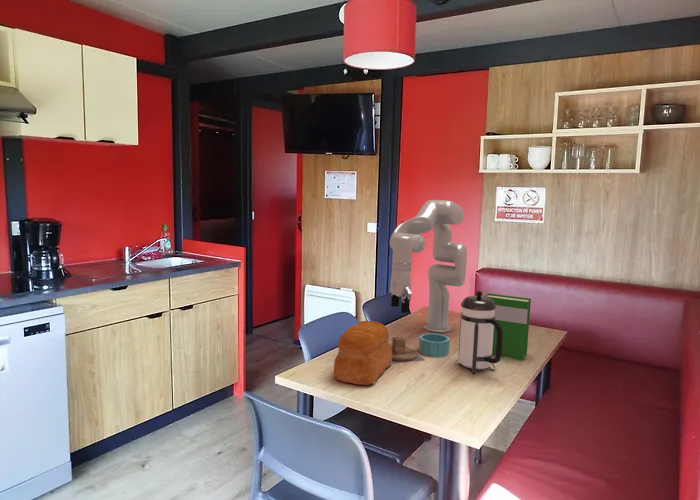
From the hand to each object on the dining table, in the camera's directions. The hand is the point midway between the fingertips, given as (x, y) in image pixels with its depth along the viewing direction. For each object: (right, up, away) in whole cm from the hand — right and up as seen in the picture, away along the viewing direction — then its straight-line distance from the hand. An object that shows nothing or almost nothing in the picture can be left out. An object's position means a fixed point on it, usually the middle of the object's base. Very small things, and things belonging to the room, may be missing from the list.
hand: (399, 309), depth 191 cm
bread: (-15, -21, -14) cm, 30 cm away
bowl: (+15, -19, +8) cm, 25 cm away
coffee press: (+29, -22, -9) cm, 37 cm away
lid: (0, -19, +3) cm, 19 cm away
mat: (0, -19, +3) cm, 20 cm away
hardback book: (+44, -20, +9) cm, 49 cm away
